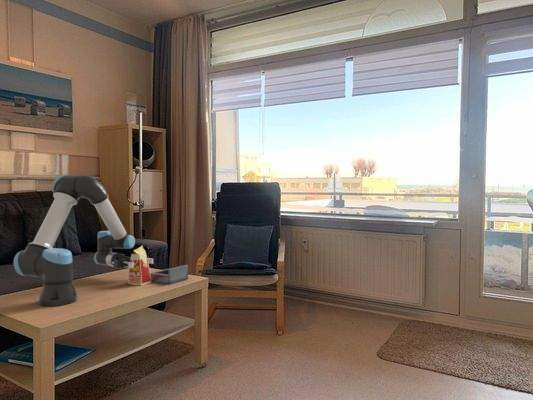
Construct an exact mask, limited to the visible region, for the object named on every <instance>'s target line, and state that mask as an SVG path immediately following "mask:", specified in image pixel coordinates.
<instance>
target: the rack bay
mask: <svg viewBox="0 0 533 400" xmlns="http://www.w3.org/2000/svg"><path fill="white" fill-rule="evenodd" d="M150 275H151V283H152V282H153V283H159V284H164V285H165V284H166V285H172V284H177V283H180V282H183V281H184V282H185V281H187V280H189V265H188V264H184V265H180V266H175V267H172V268H171V267H170V268H165V269H162V270H157V271H153V272H150Z"/></svg>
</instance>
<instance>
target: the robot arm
mask: <svg viewBox="0 0 533 400" xmlns="http://www.w3.org/2000/svg"><path fill="white" fill-rule="evenodd" d="M51 186H52V188H51V189H52V193H53V194H52V197H53V198H54V200H53V202H52V203H51V205H50V207H49V209H48V211H47V213H46V216H45V218H44V219H43V222H42V224H41V226H40V227H39V229H38V231H37V233H36V235H35V237H34V239H33V241H32V242H28V243H27V245H26V247H25V249H23V250H20V251H18V252H17V253H16V254H15V256H14V258H13V267H14V271H15V272H16V273H17V274H18V275H20V276H23V277H27V278H28V277H29V278H31V277H34V278H43V279H42V281H43V283H42V285H43V286H42V289H41V292H40V296H39V298H38V305H40V306H43V307H58V306H65V305H68V304H72V303H75V302H77V300H78V293H77V292H76V288H75V286H74V283H73V280H74V279H73V271H74V269H73V268H74V267H73V262H74V261H73V254H72V252H71V251H70V250H69V249H66V248H60V247H59V248H57V247H54V245H55V243H56V241H57V239H58V237H59V234H60V232H61V230H62V228H63V226H64V224H65V222H66V220H67V219H68V218H67V217H68V216H69V214H70V211H71V209H72V207H73V206H76V205H77V204H78V202H79V200H80V199H87V200H88V201H89V203H90V204H91V205H93V206H94V207H95V209H96V211H97V212H98V215H99V216H100V218H101V220H102V221H103V223H104V225H105V226H106V228H107V230H100V231H98V232H97V251H96V252H95V253H94V256H93V260H94V263H95V264H96V265H97V264H98V265H100V266H109V267H112V268H115V267H116V268H120V269H124V268H134V263H132V262H130V260H131V256H130V257H129V256H126V255H125V254H124V253H118V252H113V249H122V250H123V249H125V250H127V249H128V250H129V249H133V248H134V246H135V244H136V238H135V237H134V236H133V235H130V234H128V233H127V231H126V229H125V227H124V225H123V224H122V221H121V220H120V218H119V216H118V214H117V211H116V210H115V208H114V206H113V205H112V203H111V201H110V199H109V196H110V195H109V193H108V191H107V190H106V188H105V186H104V185H103V184H102V183H101V182H100V181H99V180H98V179H96V178H95V177H93V176H91V175H88V174H77V175H75V174H74V175H72V174H65V175H60V176H58V177H57V178H55V180H54V181H53V182H52V185H51ZM147 259H148V264H149V265H153V264H154V258H152V257H151V258H150V257H147Z"/></svg>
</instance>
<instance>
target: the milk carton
mask: <svg viewBox="0 0 533 400" xmlns="http://www.w3.org/2000/svg"><path fill="white" fill-rule="evenodd" d="M130 257H131V260H130V262H132V263H134V268H129V271H128V284H130V285H133V286H143V285H147V284H150V283H152V281H151V275H150V273H151V270H150V264H149V263H148V259H147V258H148V255H147V252H146V250H145V249H144V246H143V245H141V246H140V247H138V248H136V249H133V252H132V253H131V255H130Z"/></svg>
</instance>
